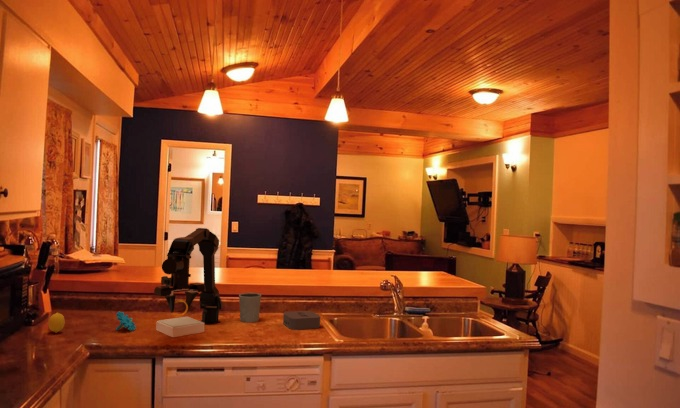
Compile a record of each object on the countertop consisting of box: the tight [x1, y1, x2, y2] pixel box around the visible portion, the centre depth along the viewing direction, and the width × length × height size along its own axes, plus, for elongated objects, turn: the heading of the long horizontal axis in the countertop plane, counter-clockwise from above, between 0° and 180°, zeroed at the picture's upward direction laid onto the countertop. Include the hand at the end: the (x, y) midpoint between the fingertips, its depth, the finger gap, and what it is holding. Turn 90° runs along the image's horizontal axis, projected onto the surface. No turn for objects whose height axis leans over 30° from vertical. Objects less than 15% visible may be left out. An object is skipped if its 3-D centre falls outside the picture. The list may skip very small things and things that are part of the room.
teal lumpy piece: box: [115, 311, 137, 332], centre depth 197 cm, size 11×6×10 cm
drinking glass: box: [238, 292, 262, 324], centre depth 223 cm, size 10×10×12 cm
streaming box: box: [282, 310, 321, 331], centre depth 218 cm, size 14×14×5 cm
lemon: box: [47, 312, 66, 334], centre depth 188 cm, size 6×6×8 cm
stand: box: [155, 316, 206, 338], centre depth 199 cm, size 14×14×4 cm
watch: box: [172, 298, 189, 316], centre depth 185 cm, size 6×3×6 cm, turn 115°
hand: (179, 311), depth 185 cm, fingers closed on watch, 6 cm apart
